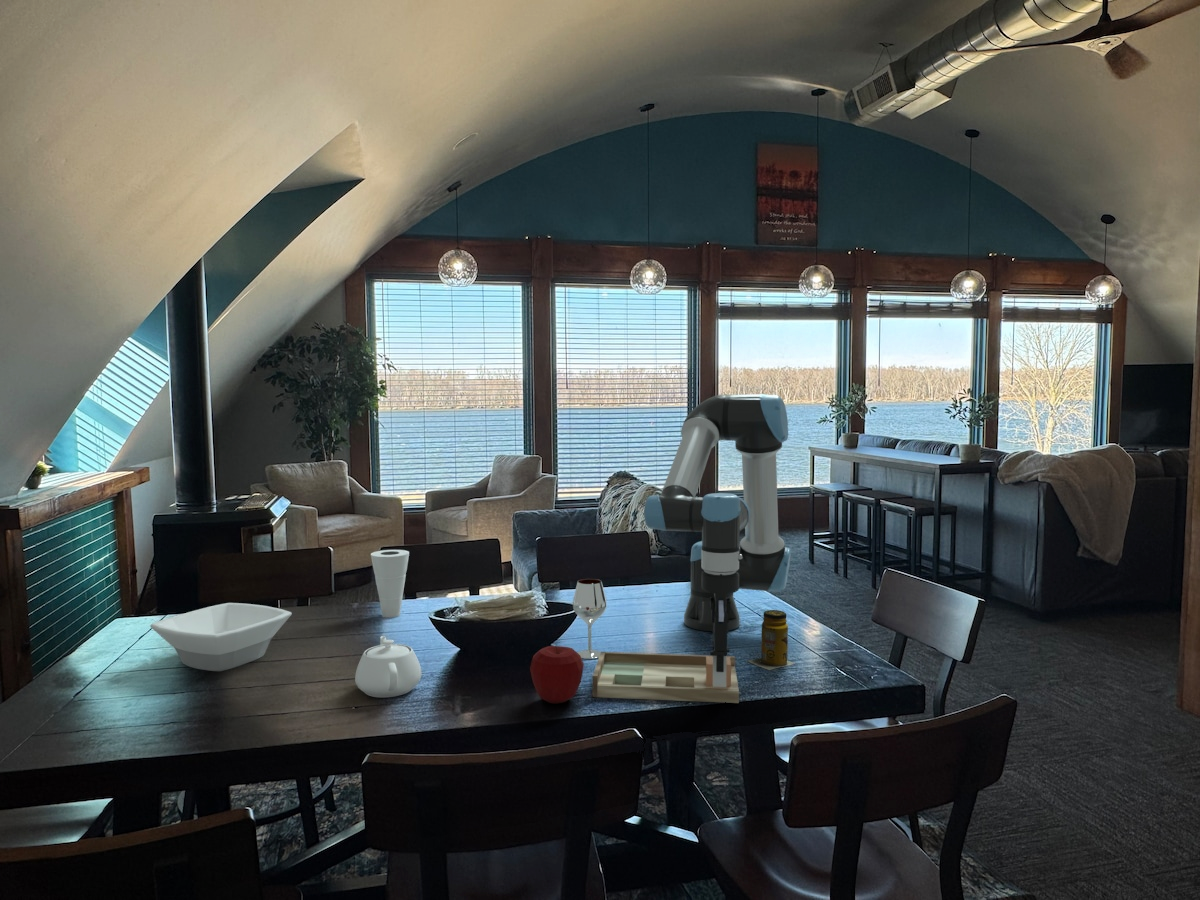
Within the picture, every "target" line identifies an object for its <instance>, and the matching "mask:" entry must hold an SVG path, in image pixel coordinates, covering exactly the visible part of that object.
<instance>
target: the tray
mask: <svg viewBox="0 0 1200 900" xmlns="http://www.w3.org/2000/svg"><path fill="white" fill-rule="evenodd" d="M600 652H601V653H600V656H599V658H597V659H598V660H597V662H596V665H595V668H594V671H593V673H592V698H605V699H627V700H628V699H635V700H654V701H656V700H657V701H658V700H659V701H676V702H677V701H679V702H682V701H683V702H703V703H705V702H706V703H711V702H712V703H725V702H726V703H731V704H739V703H740V690H739V689H740V688H739V683H738V682H739V681H738V677H737V672H736V670H737V669H736V656H734V655H727V657H730V661H731V686H726V687H713V686H708V685H706V656H708V657H713V656H710V654H709V655H707V654H681V653H679V654H678V653H677V654H676V653H652V652H651V653H649V652H627V651H625V652H624V651H623V652H619V651H615V652H614V651H600Z"/></svg>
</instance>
